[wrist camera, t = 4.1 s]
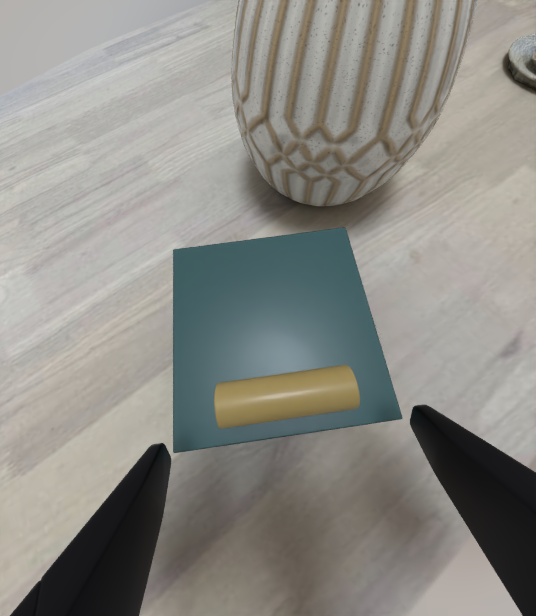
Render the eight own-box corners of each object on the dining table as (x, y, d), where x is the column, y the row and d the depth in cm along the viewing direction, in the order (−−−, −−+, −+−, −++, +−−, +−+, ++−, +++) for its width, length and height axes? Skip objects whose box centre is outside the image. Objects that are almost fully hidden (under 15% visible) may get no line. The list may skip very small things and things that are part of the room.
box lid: (394, 417, 11) (458, 431, 8) (179, 449, 11) (127, 481, 7) (342, 235, 15) (366, 179, 11) (178, 256, 15) (143, 207, 11)
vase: (213, 178, 25) (38, -436, 6) (307, 105, 29) (371, -427, 10) (330, 265, 21) (735, -627, 3) (422, 168, 25) (871, -502, 6)
